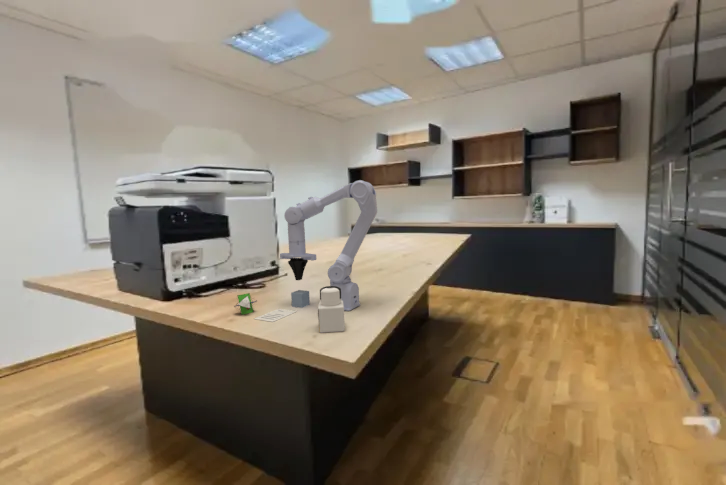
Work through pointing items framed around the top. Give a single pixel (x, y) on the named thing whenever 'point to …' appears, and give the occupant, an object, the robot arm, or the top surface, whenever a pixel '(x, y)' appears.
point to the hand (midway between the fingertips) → (299, 279)
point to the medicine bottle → (331, 310)
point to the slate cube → (300, 298)
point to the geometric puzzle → (245, 303)
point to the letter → (275, 315)
